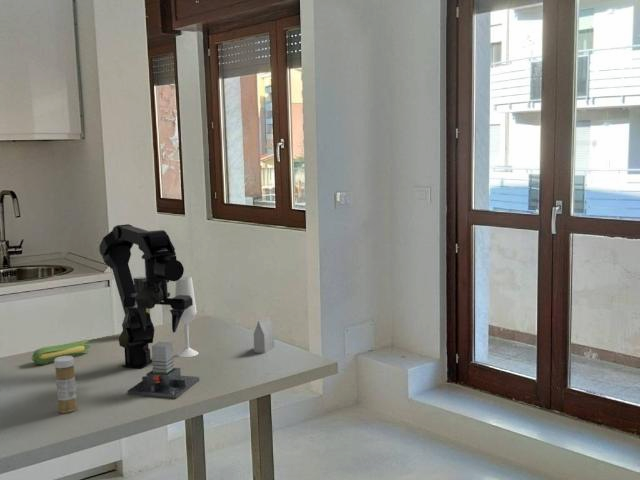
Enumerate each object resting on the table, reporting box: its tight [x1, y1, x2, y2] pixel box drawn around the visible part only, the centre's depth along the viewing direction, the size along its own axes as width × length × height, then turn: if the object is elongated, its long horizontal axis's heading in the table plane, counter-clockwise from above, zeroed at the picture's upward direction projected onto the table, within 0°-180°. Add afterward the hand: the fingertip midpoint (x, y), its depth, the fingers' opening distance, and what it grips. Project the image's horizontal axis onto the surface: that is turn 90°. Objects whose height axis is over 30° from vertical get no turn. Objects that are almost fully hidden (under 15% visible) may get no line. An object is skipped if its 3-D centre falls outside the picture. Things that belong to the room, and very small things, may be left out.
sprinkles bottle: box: [53, 356, 78, 414], centre depth 175 cm, size 5×5×14 cm
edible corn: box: [31, 339, 91, 366], centre depth 218 cm, size 5×20×5 cm
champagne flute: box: [174, 275, 199, 358], centre depth 219 cm, size 7×7×24 cm
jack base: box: [126, 367, 200, 399], centre depth 191 cm, size 14×14×4 cm
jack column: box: [151, 341, 175, 375], centre depth 190 cm, size 4×4×8 cm
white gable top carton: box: [253, 316, 275, 354], centre depth 223 cm, size 4×7×10 cm, turn 158°
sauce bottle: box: [132, 276, 152, 318], centre depth 242 cm, size 6×6×20 cm
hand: (159, 331), depth 198 cm, fingers open, 9 cm apart
